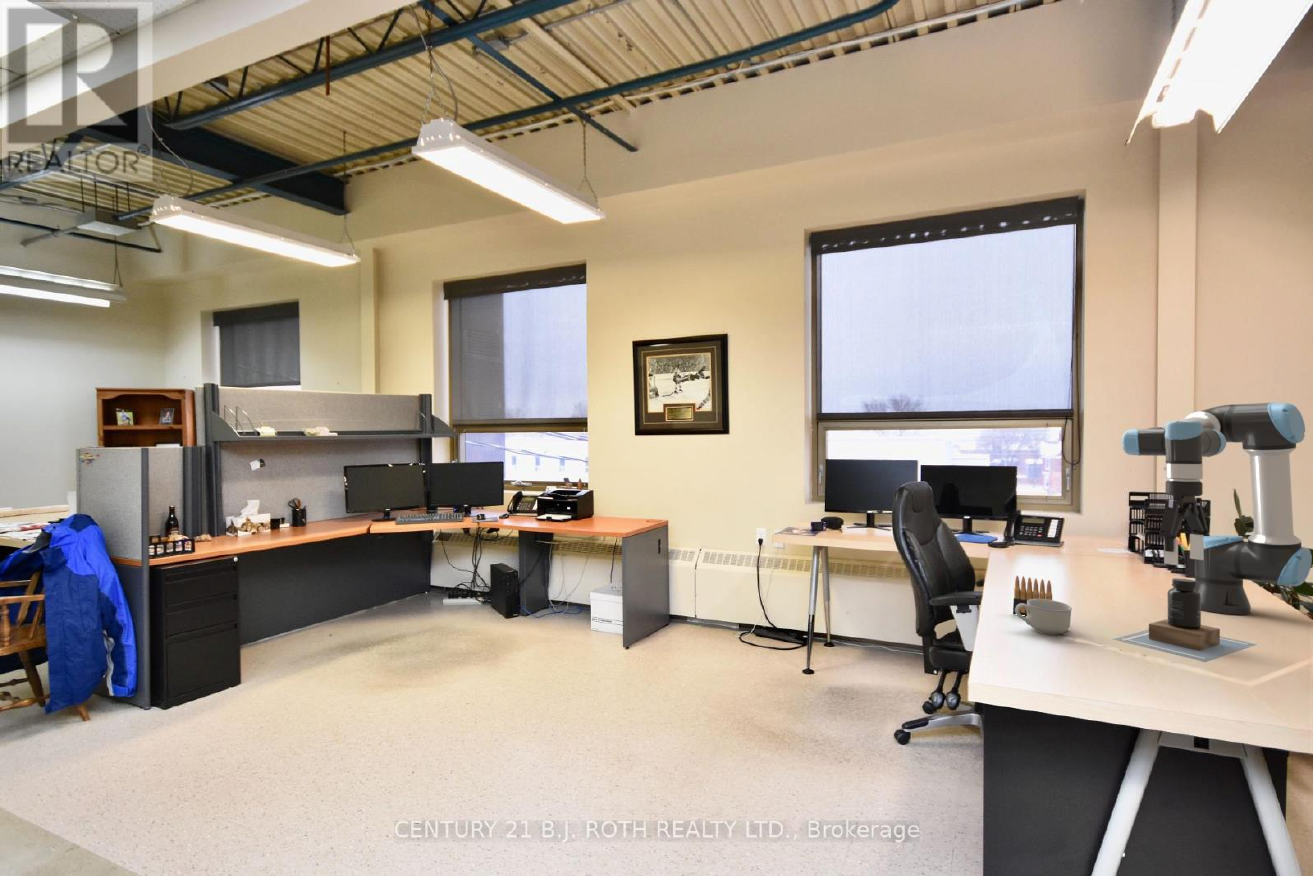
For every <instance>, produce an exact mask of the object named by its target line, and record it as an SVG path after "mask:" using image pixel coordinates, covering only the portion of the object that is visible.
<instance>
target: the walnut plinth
mask: <svg viewBox="0 0 1313 876" xmlns="http://www.w3.org/2000/svg"><path fill="white" fill-rule="evenodd" d="M1148 630H1149V639H1151V640H1155V641H1159V642H1164V643H1168V644H1172V645H1176V646H1181V647H1185V648H1189V649H1193V650H1198V651H1200V650H1204V649H1207V648H1210V647H1213V646H1216V645H1219V644H1220V637H1221V632H1220V631H1221V629H1220V628H1218V627H1213V626H1209V625H1203V624H1201V627H1200V628H1199V629H1185V628H1179V627H1175V626H1171V625H1169V624H1168V618H1166V619H1162V620H1159V621H1154V622H1151V623H1148Z"/></svg>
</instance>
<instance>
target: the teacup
mask: <svg viewBox="0 0 1313 876" xmlns="http://www.w3.org/2000/svg"><path fill="white" fill-rule="evenodd" d="M1022 607H1024V608H1026V611H1027V617H1023V616H1022V615H1021V614H1020V612H1019V611H1020V609H1021V608H1022ZM1072 609H1073V608H1072V606H1071V605H1069V604H1067V603H1065V602H1061V601H1057V600H1054V599H1052V600H1046V599H1030V600H1028V601H1027V605H1026V604H1023V603H1022V604H1018V605H1017V606H1016V608H1015V612H1016V614H1017V615H1016V616H1017V617H1018V618H1019V619H1020V620H1022V621H1024V622H1025V624H1026V625H1028V626H1030V627H1031V628H1032V629H1033V630H1034V631H1035V632H1037V633H1040V634H1043V635H1047V636H1049V635H1050V636H1059V635H1062V634H1063V633H1066V632H1067V631H1068V630H1069V629H1070V627H1071V619H1072V617H1071V616H1072Z"/></svg>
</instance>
